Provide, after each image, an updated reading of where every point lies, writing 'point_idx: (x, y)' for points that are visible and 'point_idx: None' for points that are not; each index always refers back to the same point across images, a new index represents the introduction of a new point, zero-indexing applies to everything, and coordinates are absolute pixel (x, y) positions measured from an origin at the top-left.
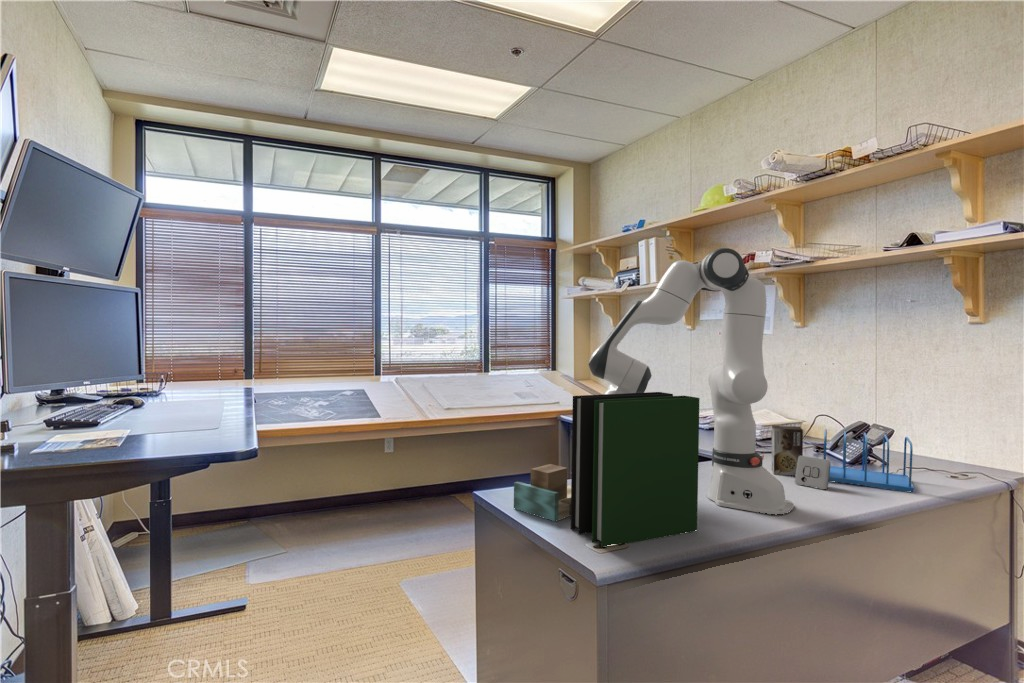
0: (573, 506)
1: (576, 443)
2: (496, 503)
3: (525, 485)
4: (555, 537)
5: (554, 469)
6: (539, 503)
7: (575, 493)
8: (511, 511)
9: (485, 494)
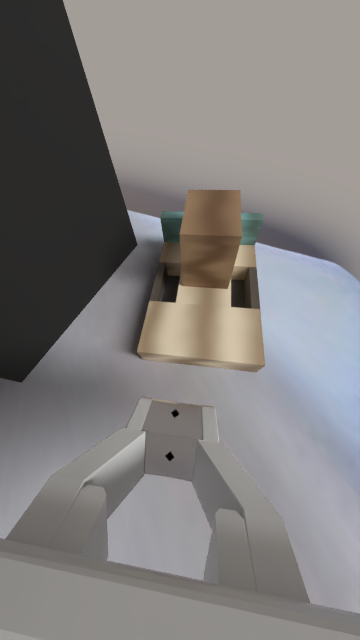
0: (125, 217)
1: (67, 53)
2: (288, 255)
3: None
4: (141, 221)
5: (195, 210)
6: None
7: (116, 199)
8: None
9: (348, 275)
